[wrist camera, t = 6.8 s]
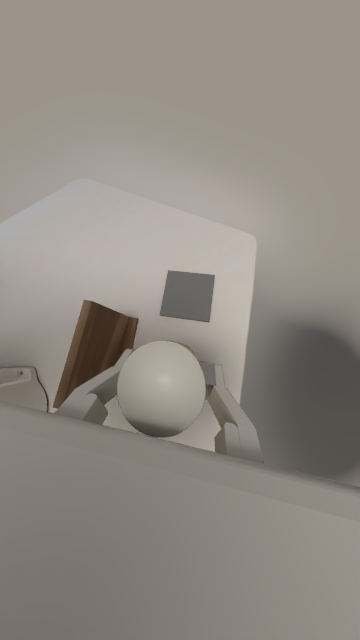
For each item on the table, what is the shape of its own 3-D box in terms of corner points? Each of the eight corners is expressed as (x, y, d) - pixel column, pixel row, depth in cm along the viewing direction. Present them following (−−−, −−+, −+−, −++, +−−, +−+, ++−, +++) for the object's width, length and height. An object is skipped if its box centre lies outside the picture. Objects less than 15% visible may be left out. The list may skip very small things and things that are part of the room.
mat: (160, 315, 29) (159, 314, 29) (168, 271, 31) (168, 270, 31) (208, 322, 28) (209, 321, 28) (214, 276, 30) (214, 275, 29)
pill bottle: (154, 378, 14) (107, 426, 6) (161, 339, 14) (127, 334, 7) (193, 385, 13) (199, 447, 5) (198, 345, 14) (210, 347, 6)
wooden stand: (103, 378, 28) (39, 404, 16) (118, 316, 30) (72, 298, 18) (125, 382, 27) (75, 412, 15) (138, 318, 30) (104, 302, 18)
